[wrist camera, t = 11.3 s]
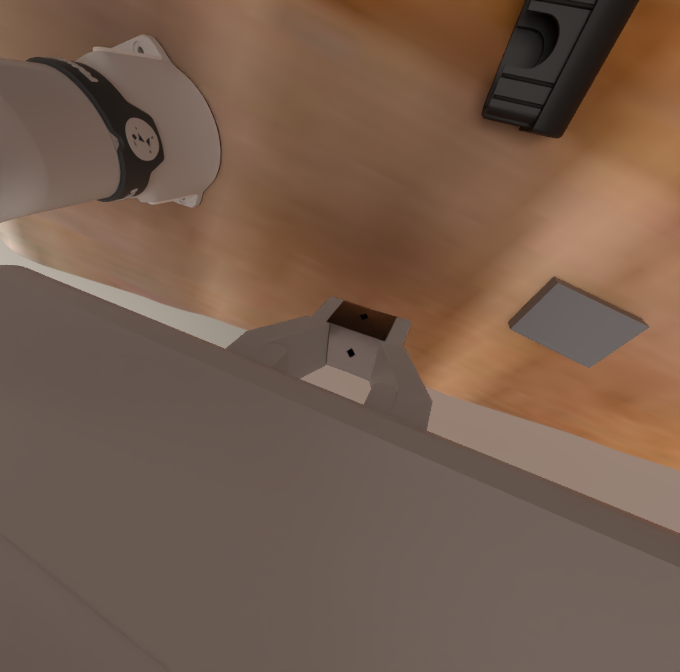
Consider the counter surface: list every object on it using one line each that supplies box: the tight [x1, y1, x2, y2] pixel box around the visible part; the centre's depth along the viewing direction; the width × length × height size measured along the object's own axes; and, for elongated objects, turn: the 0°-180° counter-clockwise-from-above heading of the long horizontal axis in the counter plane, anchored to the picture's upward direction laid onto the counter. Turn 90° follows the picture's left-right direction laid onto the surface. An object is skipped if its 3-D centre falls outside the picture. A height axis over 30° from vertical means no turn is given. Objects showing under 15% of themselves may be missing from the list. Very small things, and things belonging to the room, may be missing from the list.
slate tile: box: [508, 277, 649, 368], centre depth 37 cm, size 2×8×12 cm
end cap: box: [482, 0, 639, 138], centre depth 23 cm, size 10×7×7 cm
